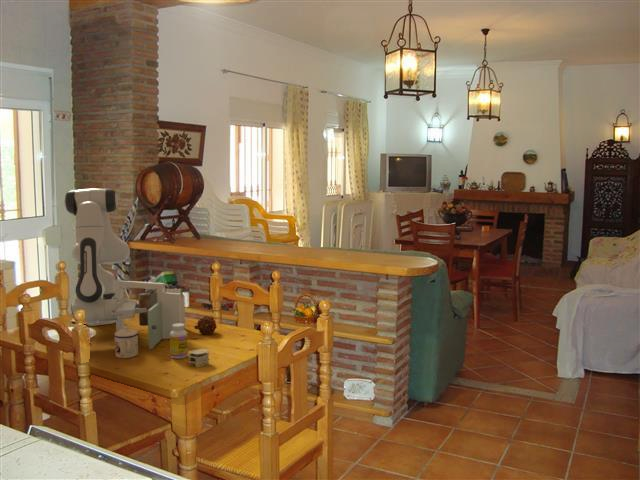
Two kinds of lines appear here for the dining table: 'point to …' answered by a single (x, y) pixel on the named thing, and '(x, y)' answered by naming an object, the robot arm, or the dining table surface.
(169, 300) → the door frame
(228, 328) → the dining table surface
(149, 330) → the door
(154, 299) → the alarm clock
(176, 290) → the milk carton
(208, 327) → the pine cone
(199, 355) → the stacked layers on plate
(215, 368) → the dining table surface
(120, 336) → the teacup with lid
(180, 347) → the supplement bottle
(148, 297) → the post
